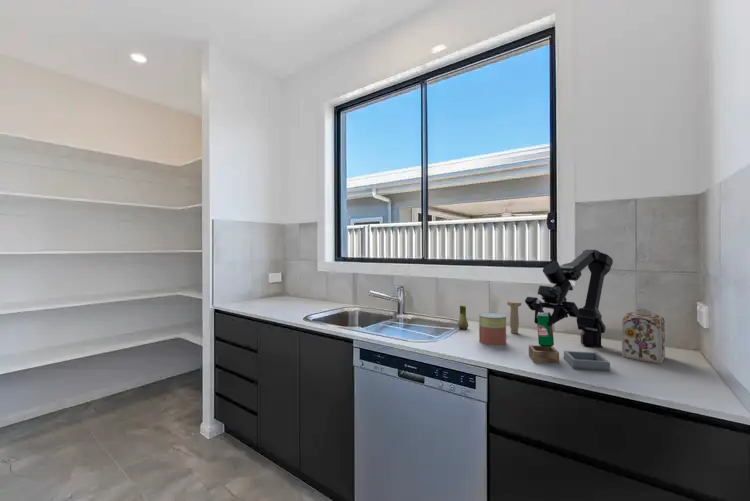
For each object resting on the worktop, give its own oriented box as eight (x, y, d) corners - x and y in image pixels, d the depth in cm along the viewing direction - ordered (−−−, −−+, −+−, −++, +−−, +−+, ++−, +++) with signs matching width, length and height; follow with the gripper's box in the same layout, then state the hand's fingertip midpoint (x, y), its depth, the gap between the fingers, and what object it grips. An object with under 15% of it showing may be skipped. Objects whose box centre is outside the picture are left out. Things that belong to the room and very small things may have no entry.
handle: (520, 334, 162) (520, 303, 162) (506, 333, 166) (506, 302, 166) (522, 332, 166) (522, 301, 166) (508, 331, 170) (508, 300, 170)
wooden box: (552, 356, 129) (552, 346, 129) (559, 364, 121) (559, 352, 121) (528, 355, 131) (528, 344, 131) (533, 362, 123) (533, 351, 123)
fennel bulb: (458, 327, 179) (458, 304, 179) (468, 327, 178) (468, 304, 178) (458, 329, 174) (458, 306, 173) (468, 330, 172) (468, 306, 172)
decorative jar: (627, 350, 136) (627, 305, 136) (665, 357, 128) (665, 309, 128) (621, 357, 128) (621, 309, 128) (661, 364, 120) (661, 313, 120)
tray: (596, 360, 124) (596, 352, 124) (610, 371, 114) (609, 362, 114) (563, 358, 127) (563, 350, 127) (573, 368, 116) (573, 360, 116)
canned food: (508, 341, 151) (508, 314, 151) (503, 347, 142) (503, 318, 142) (482, 337, 157) (482, 311, 157) (475, 343, 148) (475, 316, 148)
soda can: (535, 345, 127) (533, 312, 128) (545, 343, 129) (542, 311, 130) (547, 347, 122) (545, 313, 123) (557, 346, 124) (554, 312, 125)
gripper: (527, 276, 136) (509, 306, 130) (575, 279, 120) (557, 314, 114) (539, 294, 140) (522, 324, 134) (587, 299, 124) (570, 334, 119)
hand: (541, 324), depth 125 cm, fingers closed on soda can, 5 cm apart
